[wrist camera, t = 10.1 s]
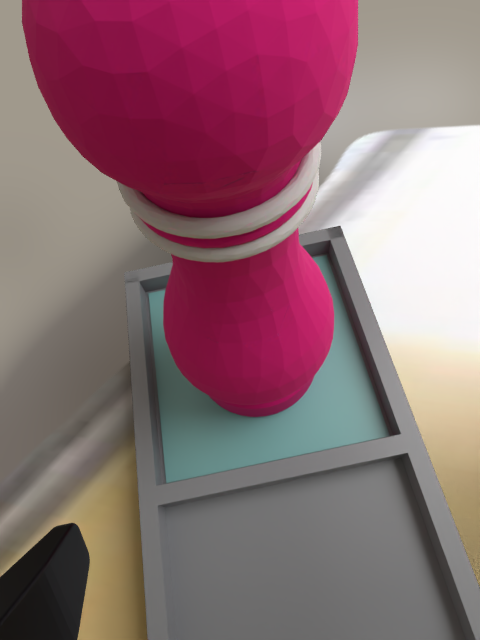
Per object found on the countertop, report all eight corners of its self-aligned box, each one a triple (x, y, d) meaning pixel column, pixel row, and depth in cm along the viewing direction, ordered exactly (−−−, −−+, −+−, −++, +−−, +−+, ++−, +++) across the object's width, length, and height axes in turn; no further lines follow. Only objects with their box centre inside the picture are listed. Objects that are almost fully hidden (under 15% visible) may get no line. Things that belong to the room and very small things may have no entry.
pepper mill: (210, 449, 20) (-356, -173, 3) (173, 323, 24) (-182, -322, 6) (350, 397, 21) (712, -449, 3) (294, 281, 24) (305, -441, 6)
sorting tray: (544, 810, 14) (579, 848, 13) (181, 883, 14) (166, 931, 13) (336, 247, 26) (340, 225, 24) (135, 290, 26) (124, 272, 24)
